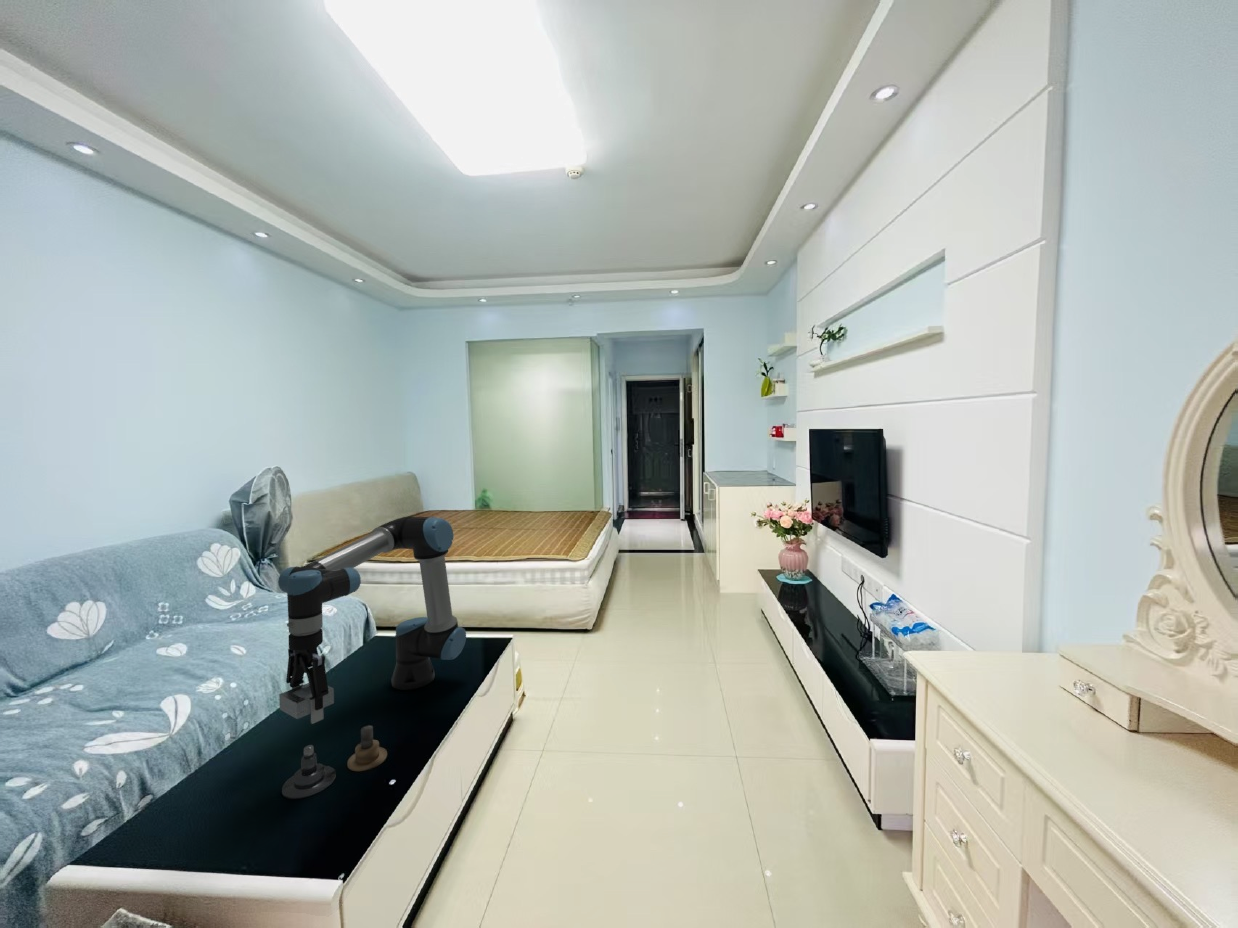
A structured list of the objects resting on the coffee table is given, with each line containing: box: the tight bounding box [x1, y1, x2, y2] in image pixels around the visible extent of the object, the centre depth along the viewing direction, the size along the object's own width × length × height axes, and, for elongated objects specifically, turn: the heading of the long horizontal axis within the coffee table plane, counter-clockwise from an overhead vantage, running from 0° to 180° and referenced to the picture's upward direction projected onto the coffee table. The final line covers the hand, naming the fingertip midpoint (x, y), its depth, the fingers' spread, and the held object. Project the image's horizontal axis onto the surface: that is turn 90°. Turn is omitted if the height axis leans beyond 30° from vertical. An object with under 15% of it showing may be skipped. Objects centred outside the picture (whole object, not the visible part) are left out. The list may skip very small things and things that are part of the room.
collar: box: [278, 682, 335, 720], centre depth 127 cm, size 9×9×4 cm
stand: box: [346, 725, 388, 772], centre depth 138 cm, size 10×10×9 cm
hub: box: [281, 744, 337, 800], centre depth 128 cm, size 12×12×10 cm
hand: (307, 715), depth 128 cm, fingers closed on collar, 9 cm apart
